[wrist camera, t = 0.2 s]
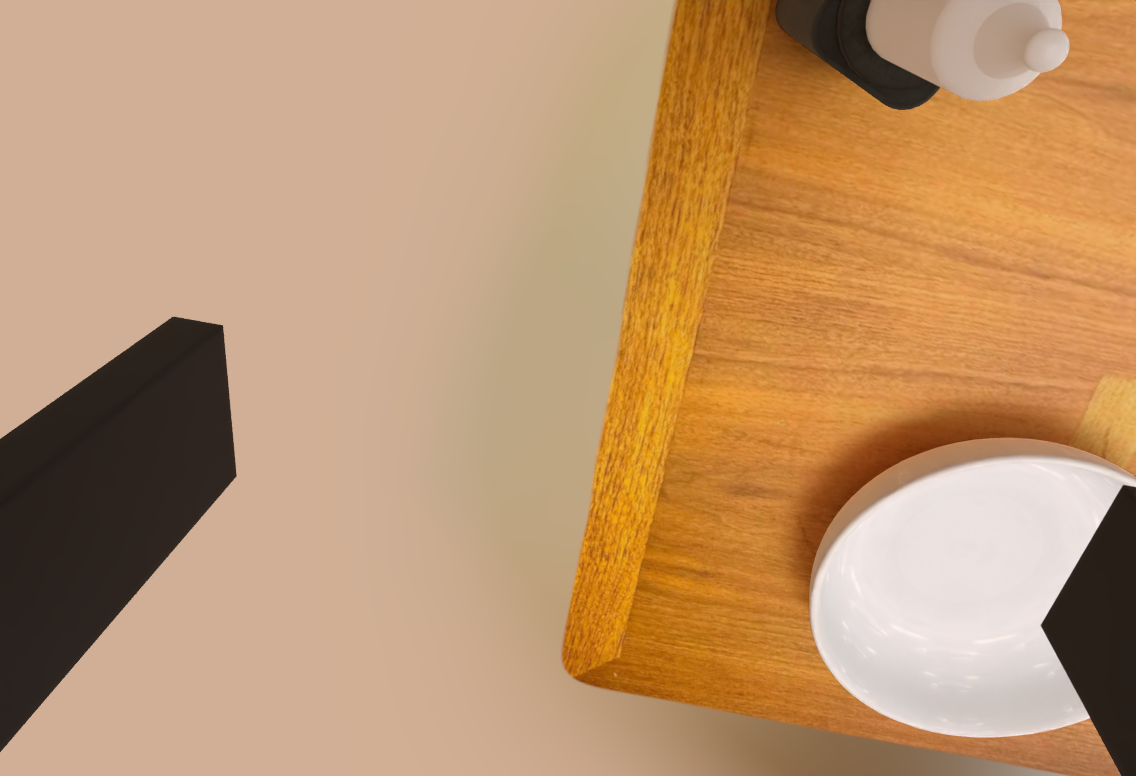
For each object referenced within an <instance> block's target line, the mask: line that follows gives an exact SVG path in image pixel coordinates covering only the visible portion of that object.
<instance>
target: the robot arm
mask: <svg viewBox="0 0 1136 776" xmlns="http://www.w3.org/2000/svg"><path fill="white" fill-rule="evenodd" d="M226 366H227V365H226V355H225V344H224V332H223V325H217V324H212V323H206V322H200V321H195V320H189V319H184V318H178V317H172V318H171V319H169V320H168V321H166V322H165V323H163V324H162V325H161V326H159V327H158V328H156V329H155V330H154V331H152V332H151V333H149V334H148V335H147V336H145V337H144V338H142V339H141V340H139V341H138V342H137V343H135V344H134V345H132V346H131V347H130V348H128V349H127V350H126V351H124V352H122V353H121V354H120V355H118V356H117V357H115V358H114V359H113V360H111V361H110V362H108V363H107V364H106V365H104V366H103V367H101V368H100V369H98V370H97V371H96V372H94V373H93V374H92V375H90V376H89V377H87V378H86V379H84V380H83V381H82V382H80V383H79V384H77V385H76V386H74V387H73V388H72V389H70V390H69V391H67V392H66V393H65V394H63V395H62V396H60V397H59V398H57V399H56V400H55V401H53V402H52V403H50V404H49V405H48V406H46V407H45V408H43V409H42V410H41V411H39V412H38V413H36V414H35V415H33V416H32V417H31V418H29V419H28V420H26V421H25V422H24V423H22V424H21V425H19V426H18V427H17V428H15V429H14V430H12V431H11V432H9V433H8V434H7V435H5V436H4V437H2V438H1V439H0V752H1V750H2V749H3V748H4V747H5V746H6V745H7V744H8V742H9V741H10V740H11V739H12V738H13V737H14V735H15V734H16V733H17V732H18V731H19V730H20V728H21V727H22V726H23V725H24V724H25V723H26V721H27V720H28V719H29V718H30V717H31V716H32V714H33V713H34V712H35V711H36V710H37V709H38V707H39V706H40V705H41V704H42V703H43V701H44V700H45V699H46V698H47V697H48V696H49V694H50V693H51V692H52V691H53V690H54V689H55V687H56V686H57V685H58V684H59V683H60V682H61V680H62V679H63V678H64V677H65V676H66V675H67V673H68V672H69V671H70V670H71V669H72V668H73V666H74V665H75V664H76V663H77V662H78V661H79V660H80V658H81V657H82V656H83V655H84V654H85V652H86V651H87V650H88V649H89V648H90V647H91V645H92V644H93V643H94V642H95V641H96V640H97V638H98V637H99V636H100V635H101V634H102V632H103V631H104V630H105V629H106V628H107V627H108V626H109V624H110V623H111V622H112V621H113V620H114V619H115V617H116V616H117V615H118V614H119V613H120V611H121V610H122V609H123V608H124V607H125V606H126V605H127V603H128V602H129V601H130V600H131V598H133V596H134V595H135V594H136V593H137V592H138V591H139V589H140V588H141V587H142V586H143V585H144V584H145V582H146V581H147V580H148V579H149V578H150V577H151V575H152V574H153V573H154V572H155V571H156V569H157V568H158V567H159V566H160V565H161V564H162V563H163V561H164V560H165V559H166V558H167V557H168V556H169V554H170V553H171V552H172V551H173V550H174V549H175V547H176V546H177V545H178V544H179V543H180V542H181V540H182V539H183V538H184V537H185V536H186V535H187V533H188V532H189V531H190V530H191V529H192V527H193V526H194V525H195V524H196V523H197V522H198V521H199V519H200V518H201V517H202V516H203V515H204V513H205V512H206V511H207V510H208V509H209V508H210V507H211V505H212V504H213V503H214V501H216V500H217V498H218V497H219V496H220V495H221V494H222V492H223V491H224V490H225V489H226V488H227V487H228V486H229V484H230V483H231V482H232V481H233V480H234V478H235V477H236V465H235V455H234V443H233V432H232V421H231V410H230V399H229V388H228V376H227V367H226ZM1040 626H1041V627H1042V629H1043V631H1044V633H1045V635H1046V637H1047V639H1048V640H1049V642H1050V644H1051V646H1052V648H1053V650H1054V652H1055V653H1056V655H1057V657H1058V659H1059V661H1060V663H1061V664H1062V666H1063V668H1064V670H1065V672H1066V674H1067V676H1068V677H1069V679H1070V681H1071V683H1072V685H1073V687H1074V689H1075V690H1076V692H1077V694H1078V696H1079V698H1080V700H1081V702H1082V703H1083V705H1084V707H1085V709H1086V711H1087V713H1088V715H1089V716H1090V718H1091V720H1092V722H1093V724H1094V726H1095V728H1096V729H1097V731H1098V733H1099V735H1100V737H1101V739H1102V741H1103V742H1104V744H1105V746H1106V748H1107V750H1108V752H1109V754H1110V755H1111V757H1112V759H1113V761H1114V763H1115V765H1116V767H1117V768H1118V770H1119V772H1120V774H1121V776H1136V487H1133V486H1127V485H1123V486H1122V487H1121V489H1120V491H1119V492H1118V494H1117V496H1116V497H1115V499H1114V501H1113V503H1112V504H1111V506H1110V508H1109V509H1108V511H1107V513H1106V515H1105V516H1104V518H1103V520H1102V521H1101V523H1100V525H1099V526H1098V528H1097V530H1096V532H1095V533H1094V535H1093V537H1092V538H1091V540H1090V542H1089V543H1088V545H1087V547H1086V549H1085V550H1084V552H1083V554H1082V555H1081V557H1080V559H1079V561H1078V562H1077V564H1076V566H1075V567H1074V569H1073V571H1072V572H1071V574H1070V576H1069V578H1068V579H1067V581H1066V583H1065V584H1064V586H1063V588H1062V590H1061V591H1060V593H1059V595H1058V596H1057V598H1056V600H1055V601H1054V603H1053V605H1052V607H1051V608H1050V610H1049V612H1048V613H1047V615H1046V617H1045V619H1044V620H1043V622H1042V624H1041V625H1040Z"/></svg>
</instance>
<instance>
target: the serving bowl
mask: <svg viewBox="0 0 1136 776" xmlns="http://www.w3.org/2000/svg"><path fill="white" fill-rule="evenodd" d="M1123 485H1127V486H1133V487H1136V477H1135V476H1134V475H1132V474H1131V473H1129V472H1128V471H1126V470H1124V469H1123V468H1121V467H1119V466H1117V465H1115V464H1114V463H1112V462H1109V461H1107V460H1105V459H1103V458H1101V457H1099V456H1096V455H1094V454H1091V453H1089V452H1086V451H1083V450H1080V449H1077V448H1074V447H1071V446H1067V445H1063V444H1059V443H1054V442H1049V441H1043V440H1036V439H1027V438H986V439H975V440H969V441H963V442H957V443H953V444H948V445H944V446H941V447H937V448H934V449H931V450H928V451H925V452H922V453H919V454H917V455H915V456H912V457H910V458H908V459H905V460H903V461H901V462H899V463H898V464H896V465H894V466H892V467H890V468H889V469H887V470H885V471H884V472H882V473H881V474H879V475H878V476H876V477H875V478H874V479H872V480H871V481H869V482H868V483H867V484H866V485H864V486H863V487H862V488H861V489H860V490H859V491H858V492H856V493H855V494H854V495H853V496H852V497H851V498H850V499H849V500H848V502H847V503H846V504H845V505H844V506H843V507H842V508H841V510H840V511H839V512H838V514H837V515H836V516H835V517H834V519H833V521H832V522H831V524H830V525H829V527H828V529H827V531H826V532H825V534H824V536H823V539H822V541H821V543H820V545H819V548H818V551H817V553H816V557H815V560H814V564H813V568H812V574H811V580H810V591H809V614H810V624H811V629H812V633H813V637H814V641H815V644H816V646H817V649H818V651H819V653H820V655H821V657H822V659H823V661H824V663H825V664H826V666H827V668H828V669H829V670H830V672H831V673H832V674H833V676H834V677H835V678H836V679H837V680H838V681H839V683H840V684H841V685H842V686H843V687H844V688H845V689H846V690H847V691H849V692H850V693H851V694H852V695H853V696H855V697H856V698H857V699H858V700H860V701H861V702H863V703H864V704H866V705H867V706H869V707H870V708H872V709H874V710H875V711H877V712H879V713H881V714H883V715H885V716H887V717H889V718H891V719H894V720H896V721H899V722H902V723H905V724H907V725H910V726H913V727H916V728H920V729H923V730H927V731H931V732H936V733H942V734H947V735H955V736H964V737H1006V736H1017V735H1026V734H1033V733H1038V732H1044V731H1049V730H1053V729H1057V728H1061V727H1064V726H1068V725H1072V724H1075V723H1078V722H1080V721H1083V720H1086V719H1088V718H1090V716H1089V715H1088V713H1087V711H1086V709H1085V707H1084V705H1083V703H1082V702H1081V700H1080V698H1079V696H1078V694H1077V692H1076V690H1075V689H1074V687H1073V685H1072V683H1071V681H1070V679H1069V677H1068V676H1067V674H1066V672H1065V670H1064V668H1063V666H1062V664H1061V663H1060V661H1059V659H1058V657H1057V655H1056V653H1055V652H1054V650H1053V648H1052V646H1051V644H1050V642H1049V640H1048V639H1047V637H1046V635H1045V633H1044V631H1043V629H1042V627H1041V626H1040V625H1041V624H1042V622H1043V620H1044V619H1045V617H1046V615H1047V613H1048V612H1049V610H1050V608H1051V607H1052V605H1053V603H1054V601H1055V600H1056V598H1057V596H1058V595H1059V593H1060V591H1061V590H1062V588H1063V586H1064V584H1065V583H1066V581H1067V579H1068V578H1069V576H1070V574H1071V572H1072V571H1073V569H1074V567H1075V566H1076V564H1077V562H1078V561H1079V559H1080V557H1081V555H1082V554H1083V552H1084V550H1085V549H1086V547H1087V545H1088V543H1089V542H1090V540H1091V538H1092V537H1093V535H1094V533H1095V532H1096V530H1097V528H1098V526H1099V525H1100V523H1101V521H1102V520H1103V518H1104V516H1105V515H1106V513H1107V511H1108V509H1109V508H1110V506H1111V504H1112V503H1113V501H1114V499H1115V497H1116V496H1117V494H1118V492H1119V491H1120V489H1121V487H1122V486H1123Z"/></svg>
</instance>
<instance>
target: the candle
mask: <svg viewBox="0 0 1136 776" xmlns="http://www.w3.org/2000/svg"><path fill="white" fill-rule="evenodd" d="M776 18H777V22H778V24H779V26H780V28H781V29H782V30H783V31H784V32H785V33H787V34H788V35H790V36H791V37H792V38H794V39H795V40H796V41H798V42H799V43H801V44H802V45H803V46H805V47H806V48H807V49H809V50H810V51H811V52H813V53H814V54H816V55H817V56H818V57H820V58H821V59H822V60H824V61H825V62H827V63H828V64H829V65H831V66H832V67H833V68H835V69H836V70H838V71H839V72H840V73H842V74H843V75H844V76H846V77H847V78H849V79H850V80H851V81H853V82H854V83H856V84H857V85H858V86H860V87H861V88H862V89H864V90H865V91H867V92H868V93H869V94H871V95H872V96H873V97H875V98H876V99H878V100H879V101H880V102H882V103H883V104H885V105H886V106H888V107H890V108H893V109H898V110H906V109H912V108H915V107H918V106H920V105H922V104H923V103H925V102H926V101H928V100H929V99H930V98H931V97H932V96H933V95H934V94H935V93H936V92H937V91H938V89H939V88H940V87H941V88H943V89H945V90H947V91H949V92H951V93H953V94H955V95H957V96H959V97H961V98H964V99H970V100H975V101H984V100H995V99H998V98H1001V97H1004V96H1007V95H1011V94H1013V93H1015V92H1017V91H1018V90H1020V89H1022V88H1023V87H1025V86H1027V85H1028V84H1029V83H1030V82H1032V81H1033V80H1034V79H1035V78H1036V77H1037V76H1038V75H1039V74H1040V73H1041V72H1048V71H1051V70H1053V69H1055V68H1056V67H1058V66H1059V65H1060V64H1061V63H1062V62H1063V61H1064V60H1065V58H1066V57H1067V54H1068V52H1069V47H1070V46H1069V39H1068V37H1067V35H1066V34H1065V33H1064V32H1063V31H1061V28H1062V16H1061V7H1060V5H1059V2H1058V0H778V3H777V6H776Z"/></svg>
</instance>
